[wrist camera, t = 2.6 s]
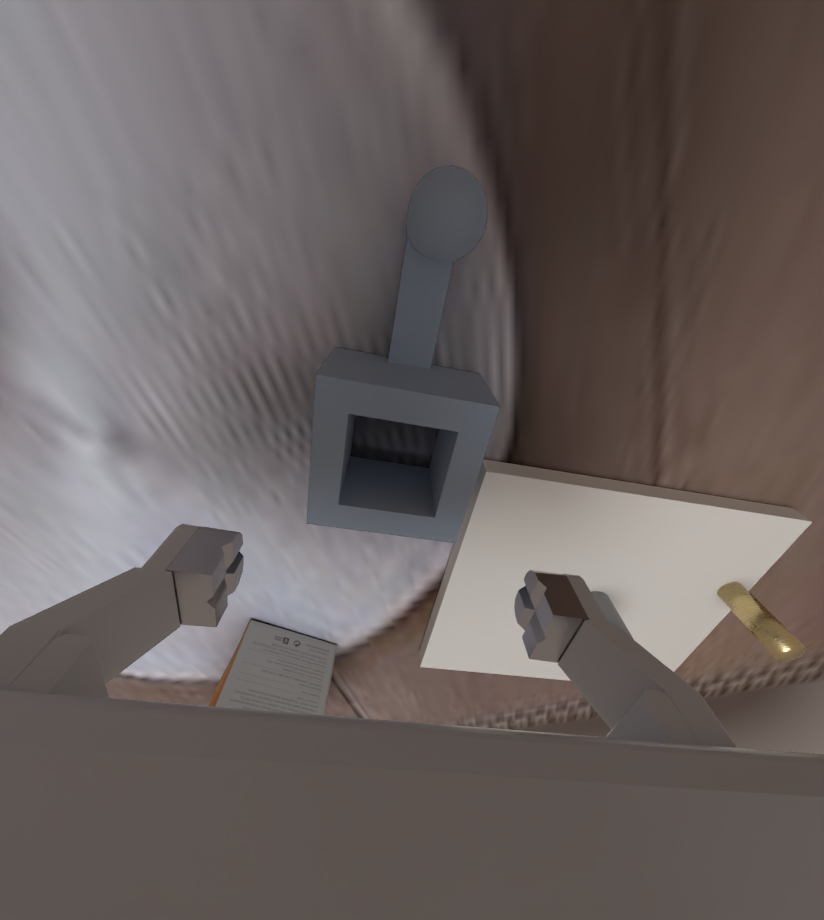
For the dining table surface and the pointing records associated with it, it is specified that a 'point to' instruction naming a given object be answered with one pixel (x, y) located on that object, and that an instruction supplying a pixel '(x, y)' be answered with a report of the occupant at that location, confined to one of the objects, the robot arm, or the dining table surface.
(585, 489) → the post board
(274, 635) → the small box
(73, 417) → the dining table surface
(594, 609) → the robot arm
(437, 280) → the grey socket with handle
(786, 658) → the dowel
